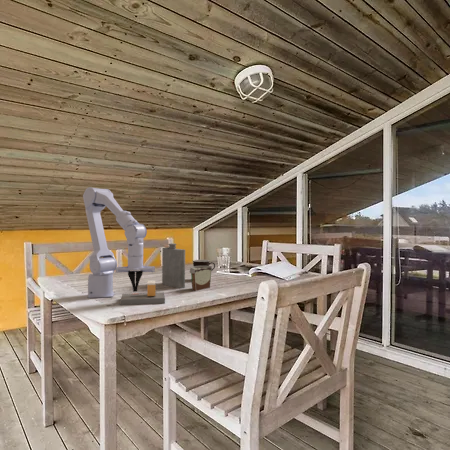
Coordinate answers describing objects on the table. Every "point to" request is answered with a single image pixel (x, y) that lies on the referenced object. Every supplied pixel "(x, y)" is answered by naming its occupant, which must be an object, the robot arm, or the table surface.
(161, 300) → the panel
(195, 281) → the food container
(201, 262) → the coffee mug
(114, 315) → the table surface
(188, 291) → the table surface
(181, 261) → the hip flask
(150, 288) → the knob
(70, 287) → the table surface
